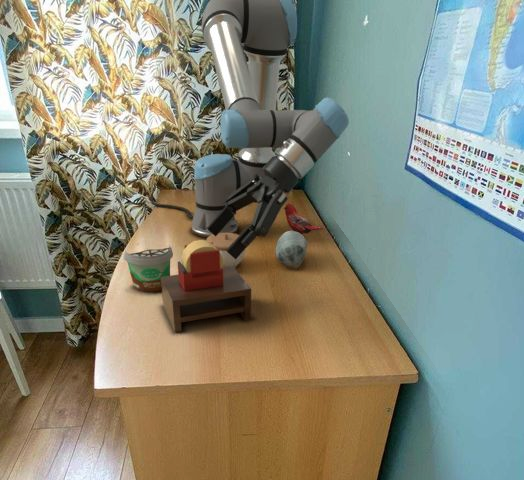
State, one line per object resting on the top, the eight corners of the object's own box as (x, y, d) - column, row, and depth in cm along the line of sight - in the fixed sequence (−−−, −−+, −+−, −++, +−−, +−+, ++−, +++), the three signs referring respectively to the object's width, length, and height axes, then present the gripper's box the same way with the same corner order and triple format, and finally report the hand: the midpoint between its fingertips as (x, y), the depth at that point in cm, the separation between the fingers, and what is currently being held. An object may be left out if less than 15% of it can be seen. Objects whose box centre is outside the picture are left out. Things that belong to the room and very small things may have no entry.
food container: (134, 298, 113) (128, 260, 107) (127, 287, 117) (122, 251, 111) (181, 289, 118) (179, 253, 112) (174, 279, 122) (171, 243, 116)
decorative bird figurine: (285, 230, 156) (287, 200, 150) (324, 246, 145) (328, 215, 139) (279, 232, 154) (281, 202, 148) (318, 248, 144) (321, 217, 138)
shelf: (163, 306, 110) (160, 276, 105) (233, 295, 116) (233, 266, 111) (175, 332, 101) (172, 300, 96) (250, 319, 107) (251, 288, 102)
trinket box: (251, 262, 133) (251, 231, 128) (233, 276, 125) (234, 244, 119) (218, 254, 136) (218, 224, 131) (200, 268, 128) (198, 236, 123)
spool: (311, 263, 126) (298, 228, 123) (279, 275, 129) (266, 241, 126) (314, 255, 139) (303, 224, 136) (285, 266, 141) (273, 236, 139)
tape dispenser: (178, 281, 104) (175, 241, 98) (217, 275, 107) (216, 236, 101) (184, 291, 100) (181, 250, 95) (224, 285, 103) (224, 245, 98)
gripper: (254, 142, 103) (192, 214, 107) (303, 169, 84) (227, 255, 88) (274, 166, 108) (214, 233, 111) (325, 196, 89) (252, 276, 93)
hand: (220, 243), depth 100 cm, fingers open, 13 cm apart
